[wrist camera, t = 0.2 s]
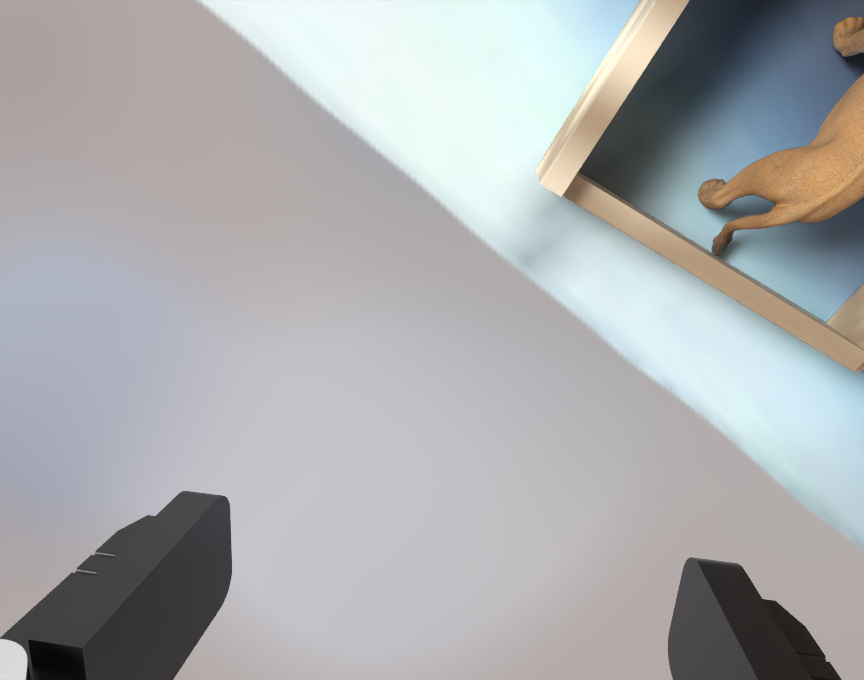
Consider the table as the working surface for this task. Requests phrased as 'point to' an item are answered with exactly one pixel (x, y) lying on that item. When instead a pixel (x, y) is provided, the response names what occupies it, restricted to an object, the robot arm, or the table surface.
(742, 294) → the frame
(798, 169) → the lion figurine
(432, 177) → the table surface
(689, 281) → the table surface
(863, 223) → the table surface
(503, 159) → the table surface
